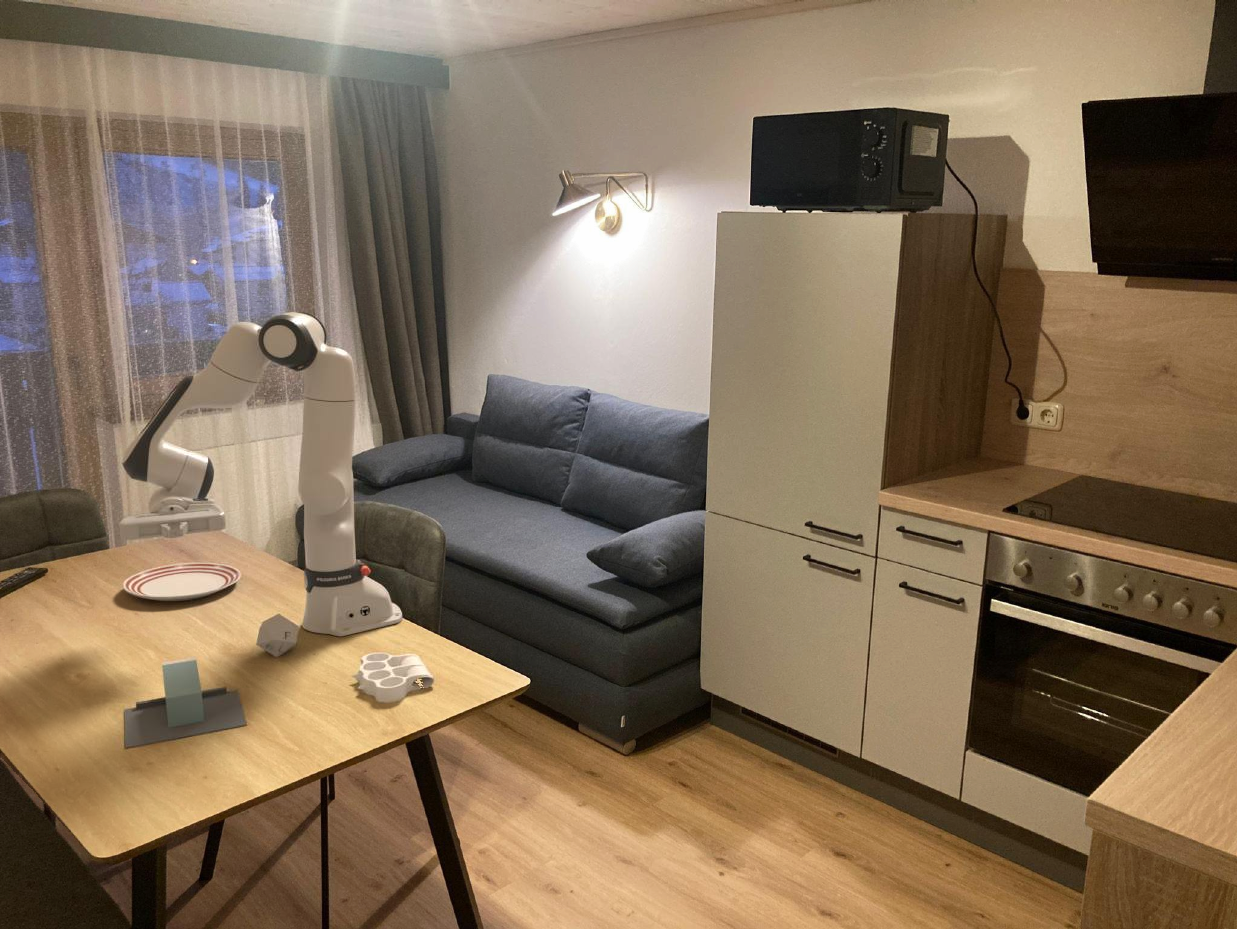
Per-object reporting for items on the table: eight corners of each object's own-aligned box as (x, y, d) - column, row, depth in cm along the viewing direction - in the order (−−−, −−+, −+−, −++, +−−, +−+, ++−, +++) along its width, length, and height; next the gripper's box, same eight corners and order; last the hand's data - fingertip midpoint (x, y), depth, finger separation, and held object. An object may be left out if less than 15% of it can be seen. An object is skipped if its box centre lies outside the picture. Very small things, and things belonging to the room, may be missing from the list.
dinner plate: (202, 565, 269) (201, 553, 268) (263, 586, 254) (262, 573, 253) (102, 593, 247) (100, 580, 247) (162, 617, 232) (161, 604, 231)
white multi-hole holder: (438, 695, 194) (363, 709, 188) (415, 660, 210) (345, 672, 204) (438, 679, 194) (362, 693, 187) (415, 645, 209) (344, 657, 203)
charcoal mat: (237, 690, 195) (237, 684, 194) (247, 725, 181) (246, 719, 180) (124, 710, 186) (123, 704, 186) (125, 748, 172) (124, 742, 172)
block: (195, 656, 192) (201, 692, 180) (198, 684, 194) (204, 721, 182) (161, 662, 189) (165, 698, 177) (164, 690, 191) (168, 727, 179)
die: (252, 663, 208) (273, 633, 205) (246, 632, 214) (266, 602, 210) (289, 667, 214) (309, 637, 210) (282, 636, 219) (301, 607, 216)
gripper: (117, 507, 208) (117, 524, 196) (220, 497, 217) (226, 513, 205) (119, 536, 210) (120, 554, 198) (222, 525, 219) (229, 542, 207)
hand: (175, 533), depth 202 cm, fingers closed
